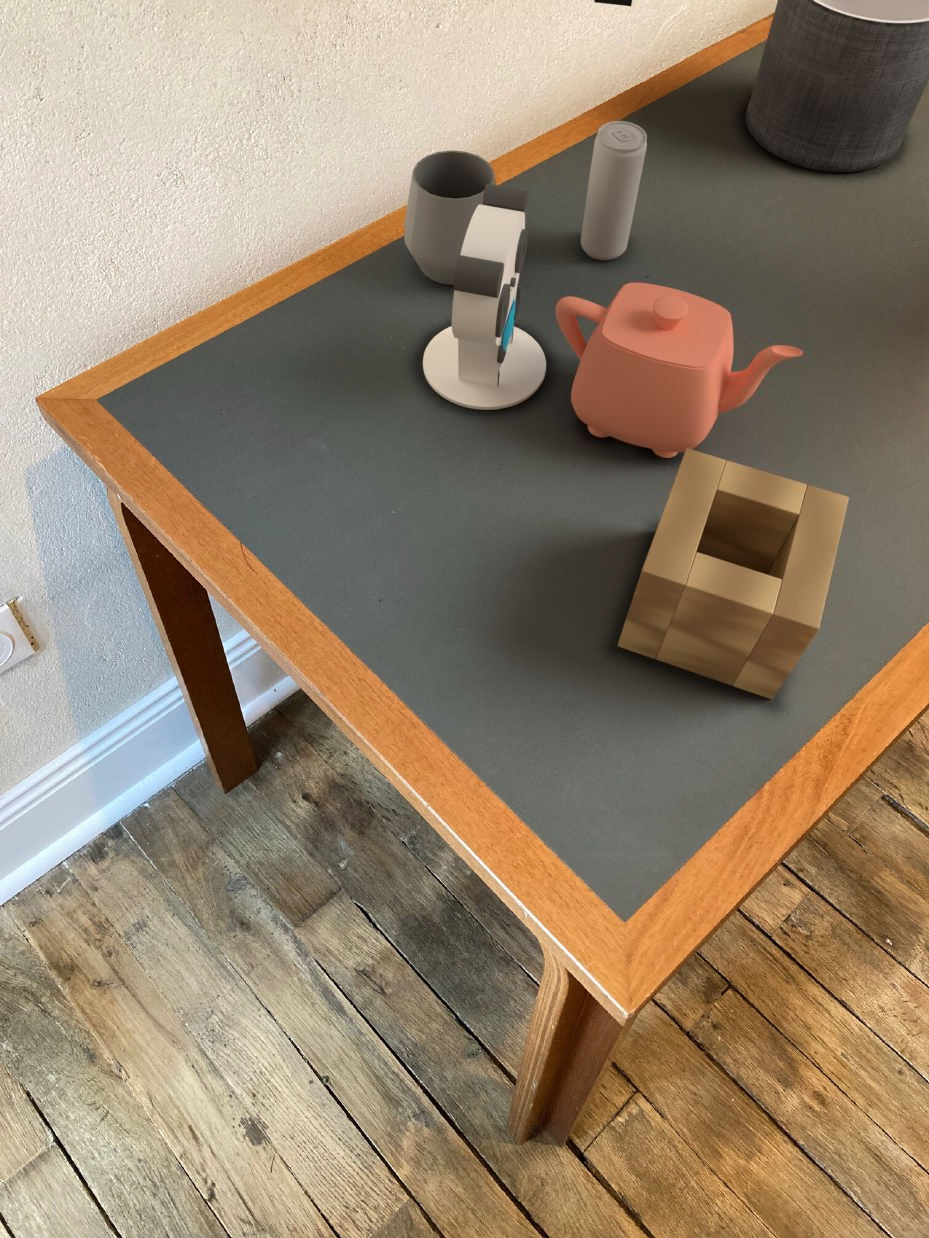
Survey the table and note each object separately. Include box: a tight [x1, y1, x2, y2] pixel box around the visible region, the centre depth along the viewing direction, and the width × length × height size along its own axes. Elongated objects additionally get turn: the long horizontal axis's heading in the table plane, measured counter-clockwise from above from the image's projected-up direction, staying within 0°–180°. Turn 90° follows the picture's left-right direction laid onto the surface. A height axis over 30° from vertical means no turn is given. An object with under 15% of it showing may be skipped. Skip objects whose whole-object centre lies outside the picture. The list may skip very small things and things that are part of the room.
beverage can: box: [580, 120, 648, 261], centre depth 91 cm, size 5×5×12 cm
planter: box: [745, 0, 929, 173], centre depth 102 cm, size 18×18×16 cm
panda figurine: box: [422, 183, 547, 411], centre depth 80 cm, size 12×11×15 cm
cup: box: [403, 150, 497, 286], centre depth 90 cm, size 10×9×10 cm
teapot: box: [555, 282, 804, 459], centre depth 79 cm, size 20×12×12 cm, turn 67°
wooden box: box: [617, 448, 850, 700], centre depth 69 cm, size 12×12×10 cm
